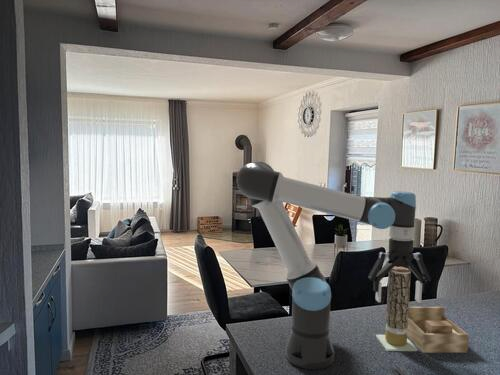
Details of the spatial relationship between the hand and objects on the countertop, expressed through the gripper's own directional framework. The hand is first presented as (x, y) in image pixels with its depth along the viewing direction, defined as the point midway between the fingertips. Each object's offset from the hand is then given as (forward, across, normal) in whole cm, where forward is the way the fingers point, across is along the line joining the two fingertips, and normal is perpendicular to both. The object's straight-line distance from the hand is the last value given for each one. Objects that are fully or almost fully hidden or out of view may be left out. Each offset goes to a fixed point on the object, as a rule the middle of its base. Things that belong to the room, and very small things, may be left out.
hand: (398, 301), depth 125 cm
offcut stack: (+15, +14, -3) cm, 20 cm away
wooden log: (+14, 0, 0) cm, 14 cm away
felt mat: (+15, 0, 0) cm, 15 cm away
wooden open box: (+15, +14, +2) cm, 20 cm away
